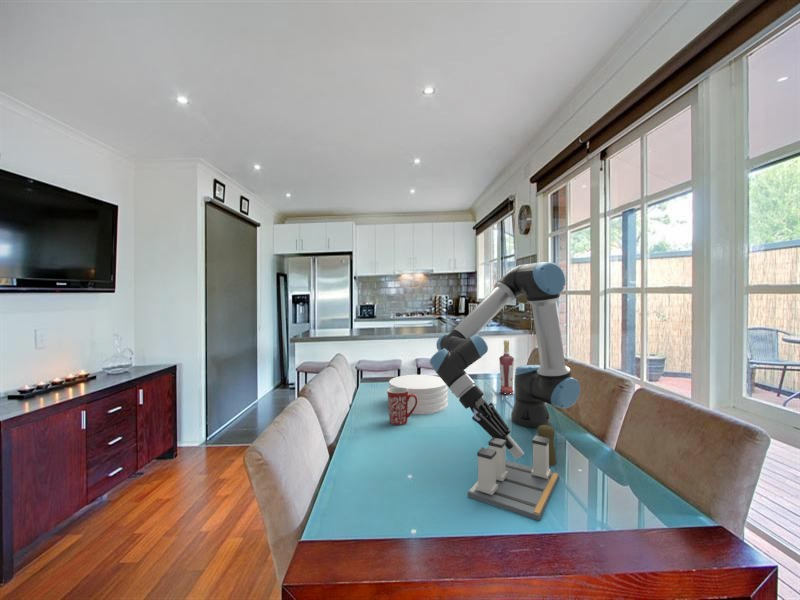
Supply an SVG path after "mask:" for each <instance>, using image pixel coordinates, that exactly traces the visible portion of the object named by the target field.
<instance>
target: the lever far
mask: <svg viewBox="0 0 800 600" xmlns="http://www.w3.org/2000/svg"><path fill="white" fill-rule="evenodd" d="M476 456H477V470H478V471H477V481H478V485H477V486H476V490H478V491H481V492H484V493H487V494H490V495H493V494H494V493H495V491H496V490H497V489H498V484H496V450H491V449H489V448H488V447H487V448H486V447H481V448H480V449H479V450H478V451H477V452H476Z"/></svg>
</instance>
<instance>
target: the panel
mask: <svg viewBox="0 0 800 600" xmlns="http://www.w3.org/2000/svg"><path fill="white" fill-rule="evenodd" d="M532 469H533V466H529V465H526V464H521V463H518V462H514V461H511V460H508V459H507V460H506V471H507V472H508V475H507V477H506V478H505V479H504V481H500V480H496V484H498V489H497V490H496V491H495V493H494V494H493V495H490V494H487V493H484V492H481V491H478V490H476V486H477V485H478V480H476V481H475V483H474V484H473V485H472V486H471V487H470V488H469V490H468V491H467V497H468V498H470V499H473V500H476V501H480V502H483V503H485V504H489V505H491V506H495V507H498V508H501V509H504V510H507V511H510V512H513V513H514V514H515V513H516V514H517V515H521V516H523V517H527V518H531V519H533V520H536V521H539V522H540V521H541V518H542V516H543V514H544V512H545V510H546V508H547V506H548V503H549V501H550V500H551V499H550V498H551V497H552V495H553V493H554V491H555V489H556V486H557V484H558V482H559V480H560V473H556V472H553V471H551V474H550V476H549V477H548V479H546V478H542V477H538V476H535V475H531V471H532Z"/></svg>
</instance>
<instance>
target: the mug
mask: <svg viewBox="0 0 800 600" xmlns="http://www.w3.org/2000/svg"><path fill="white" fill-rule="evenodd" d="M386 392H387V393H386V394H387V404H388V417H389V423H390V424H391V425H395V426H402V425H405V424H407V423H408V418H409V417H410V416H411V415H413V414H412V412H413V411H414V409H415V408H416V405H417V397H416V395H414V394H410V395H408V389H407V388H402V387H395V388H390V389H389V388H388V389H387V390H386ZM410 397H414V398H415V405H414V407H413V409H412V410H411V411H410V412H409V413H407V408H408V401H409V398H410Z"/></svg>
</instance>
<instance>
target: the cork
mask: <svg viewBox="0 0 800 600" xmlns="http://www.w3.org/2000/svg"><path fill="white" fill-rule="evenodd" d="M536 429H537V430H536V431H537V432H536V433H537V436H541V437H545V438H549V467H550V466H551V467H552V466H556V465H557V455H556V447H555V440H554V438H555V435H556V430H555V428H554V426H553V427H552V426H551V425H541V426H539V427H538V428H536Z"/></svg>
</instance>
